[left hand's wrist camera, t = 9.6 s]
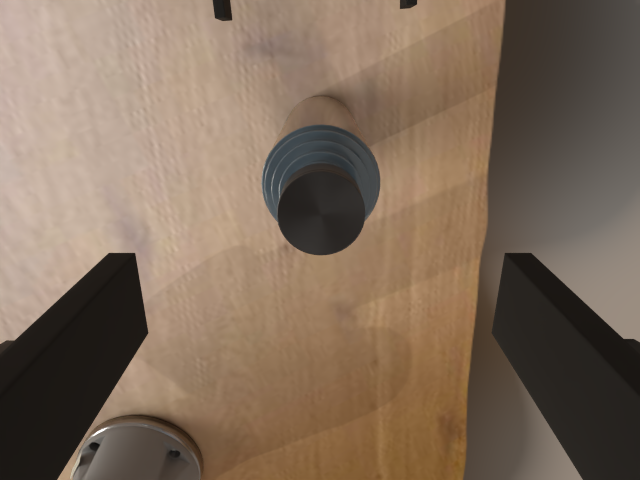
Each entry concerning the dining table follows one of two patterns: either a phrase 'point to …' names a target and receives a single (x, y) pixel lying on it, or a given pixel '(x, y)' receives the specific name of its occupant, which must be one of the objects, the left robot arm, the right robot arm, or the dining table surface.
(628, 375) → the left robot arm
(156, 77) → the dining table surface
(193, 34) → the dining table surface
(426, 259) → the dining table surface
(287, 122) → the bottle
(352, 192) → the cap
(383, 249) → the dining table surface
